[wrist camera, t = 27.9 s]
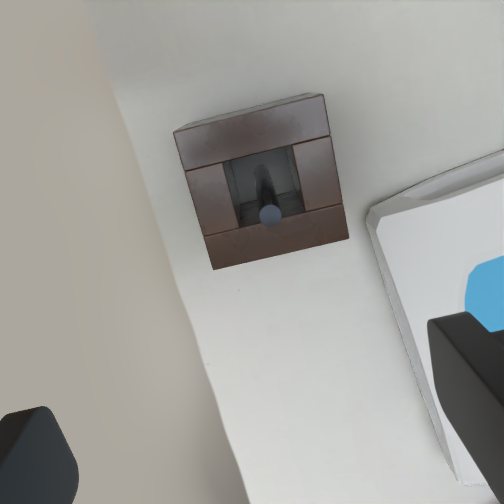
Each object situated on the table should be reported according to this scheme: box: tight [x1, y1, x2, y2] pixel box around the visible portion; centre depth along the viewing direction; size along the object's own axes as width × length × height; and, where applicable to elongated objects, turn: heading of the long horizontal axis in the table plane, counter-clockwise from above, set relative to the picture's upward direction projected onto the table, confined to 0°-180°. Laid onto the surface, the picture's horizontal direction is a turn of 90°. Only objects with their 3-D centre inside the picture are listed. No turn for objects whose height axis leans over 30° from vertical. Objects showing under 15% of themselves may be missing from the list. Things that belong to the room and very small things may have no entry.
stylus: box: [254, 165, 282, 227], centre depth 30 cm, size 1×1×14 cm
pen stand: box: [173, 93, 349, 270], centre depth 34 cm, size 10×10×7 cm
